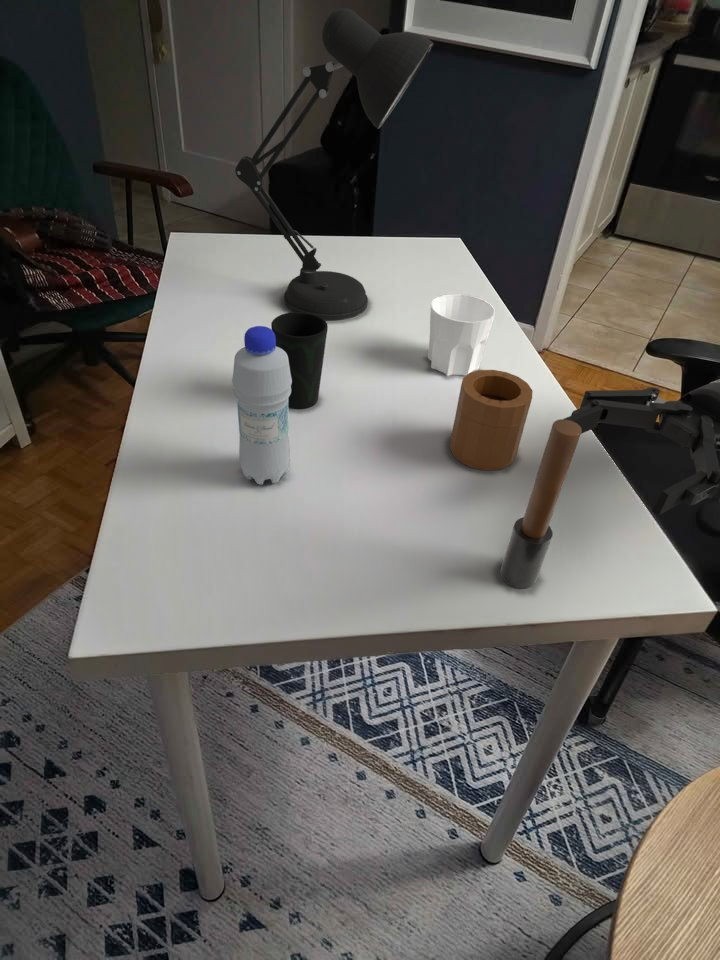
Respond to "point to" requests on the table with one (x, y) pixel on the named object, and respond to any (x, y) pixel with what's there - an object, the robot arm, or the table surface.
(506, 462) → the wooden hollow tube
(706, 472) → the robot arm
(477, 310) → the cup
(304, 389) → the cup
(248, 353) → the bottle
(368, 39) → the desk lamp
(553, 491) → the wooden handled pestle
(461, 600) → the table surface
